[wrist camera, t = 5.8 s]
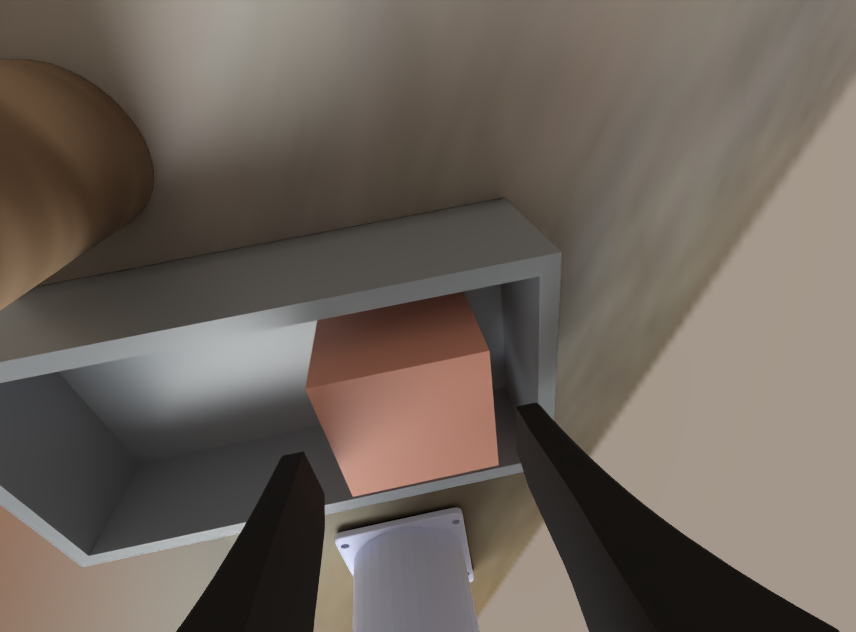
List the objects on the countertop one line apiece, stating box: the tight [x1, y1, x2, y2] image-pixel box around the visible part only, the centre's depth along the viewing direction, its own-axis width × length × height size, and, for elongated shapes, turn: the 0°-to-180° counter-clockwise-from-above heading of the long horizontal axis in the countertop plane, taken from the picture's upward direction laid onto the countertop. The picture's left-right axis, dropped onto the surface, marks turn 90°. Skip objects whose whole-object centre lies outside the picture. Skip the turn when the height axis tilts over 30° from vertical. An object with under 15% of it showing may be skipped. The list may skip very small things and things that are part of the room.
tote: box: [0, 198, 562, 567], centre depth 15 cm, size 9×18×5 cm, turn 98°
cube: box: [305, 291, 499, 497], centre depth 14 cm, size 5×5×5 cm
